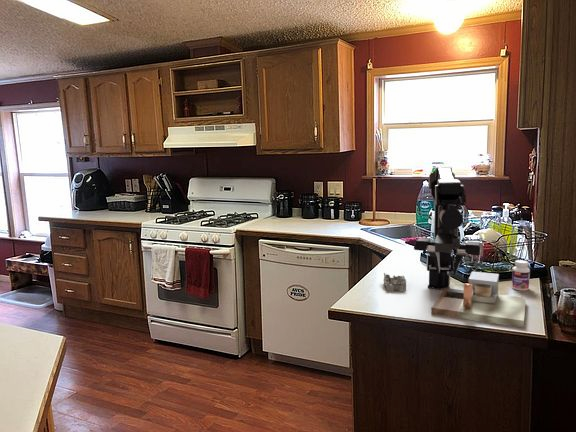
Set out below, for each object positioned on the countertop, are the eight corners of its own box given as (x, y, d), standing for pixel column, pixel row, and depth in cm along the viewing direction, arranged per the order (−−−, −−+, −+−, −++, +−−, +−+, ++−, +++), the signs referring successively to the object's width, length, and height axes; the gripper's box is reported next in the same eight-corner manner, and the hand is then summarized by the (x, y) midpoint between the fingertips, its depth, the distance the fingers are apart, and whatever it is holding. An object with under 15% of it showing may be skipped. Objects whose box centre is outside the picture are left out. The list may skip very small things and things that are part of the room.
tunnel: (467, 300, 145) (468, 278, 144) (471, 292, 153) (472, 271, 152) (495, 304, 141) (496, 281, 140) (497, 295, 149) (498, 274, 148)
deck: (431, 313, 140) (431, 307, 140) (443, 293, 159) (443, 287, 158) (523, 327, 129) (523, 320, 128) (525, 303, 147) (525, 297, 147)
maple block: (474, 300, 146) (474, 286, 145) (476, 295, 150) (476, 282, 149) (489, 302, 144) (490, 288, 143) (491, 297, 147) (491, 284, 147)
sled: (462, 307, 138) (463, 285, 137) (469, 292, 151) (469, 271, 150) (492, 311, 134) (493, 288, 133) (496, 296, 147) (497, 274, 146)
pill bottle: (511, 289, 160) (513, 262, 159) (511, 285, 165) (512, 259, 164) (529, 291, 158) (530, 264, 157) (528, 287, 163) (529, 260, 161)
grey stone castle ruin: (382, 282, 173) (382, 272, 173) (403, 283, 172) (403, 272, 172) (385, 291, 163) (385, 280, 162) (407, 291, 162) (407, 280, 161)
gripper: (409, 225, 135) (409, 277, 137) (478, 230, 126) (476, 285, 128) (418, 219, 144) (417, 268, 147) (482, 223, 136) (480, 274, 138)
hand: (446, 273), depth 140 cm, fingers open, 4 cm apart
